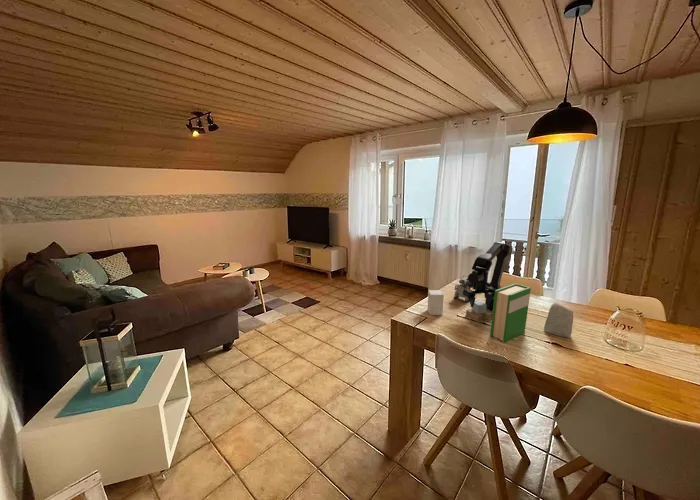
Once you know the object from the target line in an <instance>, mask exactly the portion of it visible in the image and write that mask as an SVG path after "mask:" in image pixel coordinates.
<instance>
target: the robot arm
mask: <svg viewBox="0 0 700 500" xmlns="http://www.w3.org/2000/svg"><path fill="white" fill-rule="evenodd" d="M512 254H513V247H512V246H511V245H510V244H506V243H505V242H501V241H500V242H499V241H494V242H493V244H492V245H491V247H490V248H488V249H487V251H486V252H485V253H483V254H479V255H478V256H477V257H476V258H475V260H474V262H473V265H472V267H471V270H472V271H471V273H469V274H468V275H467V276H468V281H466V287H469V288H471V289H464V290H463V295H465V296H467V297H468V299H469V302H468V303H469V305H470V307H471V309H472V308H473V306H474V302H476V296H477V295H479V294H481V295H482V294H484V298H485V302H484V303H485V304H487V306H486V310H489V311H491V312H493V304H494V295H495V290H498V289H500V288H502V287H501V280H502V278H503V277H502V276H503V273H504V269H505V265H506V261H507V260H508V259H509V258H510V257H511V255H512ZM495 258H496V260H495V266H494V269H493V272H492V276H491V280H490V282H488V280H489V279H488V278H489V271H491V267H492V265H493V260H494V259H495Z"/></svg>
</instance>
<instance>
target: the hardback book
mask: <svg viewBox="0 0 700 500" xmlns="http://www.w3.org/2000/svg"><path fill="white" fill-rule="evenodd" d="M531 291H532V290H531V287H530V286H528V285H527V286H526V285H522V284H520V283H516V282H515V283H513V284H509V285H506V286H504V287H501V288H500V289H498V290H495V295H494V304H493V311H492V313H491V323H490V324H491V325H490V334H489V337H490V338H493V337H494V338H497V339H499V340H501V341H502V344H506V343H508V342H510V341H513V340H514V339H515V338H518V337H519V336H521V335H523V334H525V333H526V326H527V319H528V311H529V303H530V298H531V297H530V295H531Z"/></svg>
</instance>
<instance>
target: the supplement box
mask: <svg viewBox="0 0 700 500" xmlns="http://www.w3.org/2000/svg"><path fill="white" fill-rule="evenodd" d="M427 295H428V297H427V299H428V300H427V311H428V314H429V315H430V316H443V313H444V297H445V295H444V293H443V291H442V290H438V289H436V290H434V289H429V290H428V293H427Z"/></svg>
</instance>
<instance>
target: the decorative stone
mask: <svg viewBox="0 0 700 500" xmlns="http://www.w3.org/2000/svg"><path fill="white" fill-rule="evenodd" d="M573 323H574V311H573V310H571V309H570V308H568V307H566V306H564V305H562V304H560V303H559V302H554V303H552V304H551V306H550V308H549V310H548V314H547V318H546V320H545V324H544V328H543V331H544V332H546V333H548V334H552V335H556V336H559V337H562V338H567V339H570V338H571V336H572V333H573V332H572V331H573Z"/></svg>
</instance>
